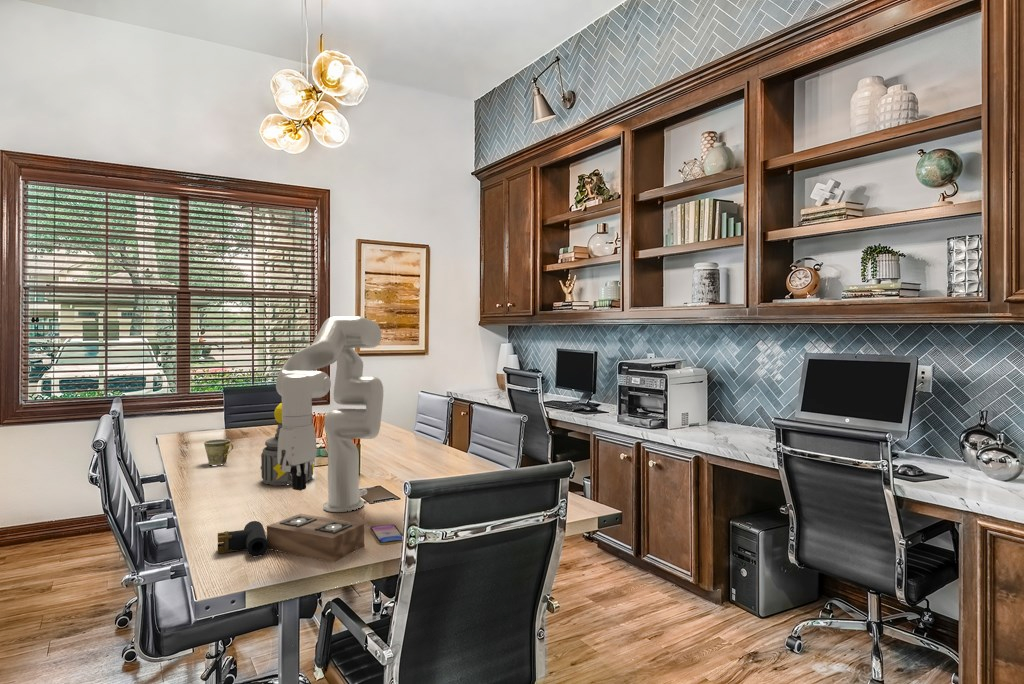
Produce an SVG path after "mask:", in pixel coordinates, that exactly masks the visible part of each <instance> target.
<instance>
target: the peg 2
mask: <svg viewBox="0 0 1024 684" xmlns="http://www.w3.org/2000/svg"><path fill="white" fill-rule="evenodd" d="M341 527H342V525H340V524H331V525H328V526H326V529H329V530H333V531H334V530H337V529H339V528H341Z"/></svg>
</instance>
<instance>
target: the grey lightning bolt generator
mask: <svg viewBox="0 0 1024 684" xmlns="http://www.w3.org/2000/svg"><path fill="white" fill-rule="evenodd" d="M273 412H274V415H273V416H274V419H275V421H276V422H277V428H276V429H275V432H276V433H275V435H274V436H273V437H270V438H269V439H266V440H265V443H264V445H265V447H264V448H263V449H262V453H261V454H260V460H261V461H260V464H261V465H260V471H261V474H260V475H261V479H262V482H263V484H265V483H266V484H265V485H267V484H270V485H269V486H272V485H287V484H292V475H290V473H289V472H284V471H282V465H279V464H278V459H277V453H278V438H279V432H280V428H282V402H280V403H279V404H278V405H277V406H276V407H275V409H274V411H273ZM314 463H315V462H314ZM314 463H313V464H311V465H310V466H309V467H308V472H307V474H306V481H307V482H309V481H311V480H312V478H313V475H314V469H315V464H314ZM310 479H311V480H310ZM308 480H309V481H308Z"/></svg>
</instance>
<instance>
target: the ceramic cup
mask: <svg viewBox="0 0 1024 684" xmlns="http://www.w3.org/2000/svg"><path fill="white" fill-rule="evenodd" d="M203 444H204V449H205V452H206V456H207V461H208V466H209V465H221V464H225V463H226V464H227V458H228V455H229V454H230V452H231V451H233V449H234V445H233V444H232V443H231V440H230V439H227V438H221V439H220V438H215V439H210V440H209V439H208V440H206V441H203ZM230 446H231V449H230V450H229V448H230Z"/></svg>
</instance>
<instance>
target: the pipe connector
mask: <svg viewBox="0 0 1024 684" xmlns="http://www.w3.org/2000/svg"><path fill="white" fill-rule="evenodd" d="M244 549H246V551H247V554H248V555H249V556H250V557H252V558H254V557H253V556H256V557H261V556H260V555H262V556H264V555H265V554H266V553H267V552H268V550H269V549H268V542H267V534H266V531H265V529H264V525H263V523H262V522H260V521H258V520H252V521H249V522H248V523H247V524H246V525H244V528H243V529H240V530H232V531H231V530H230V531H228V530H226V531H224V532H217V554H226V553H225V552H228V553H232V552H237V551H236V550H239V551H245V550H244Z"/></svg>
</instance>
